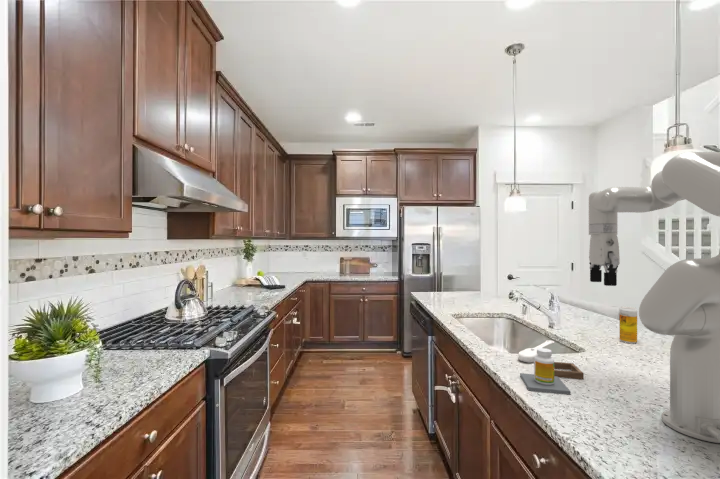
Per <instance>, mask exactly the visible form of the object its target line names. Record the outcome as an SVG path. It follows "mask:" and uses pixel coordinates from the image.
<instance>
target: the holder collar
mask: <svg viewBox="0 0 720 479" xmlns="http://www.w3.org/2000/svg"><path fill="white" fill-rule="evenodd" d="M584 374H585V373H584V372H583V371H582V370H581V369H580V368H578V367H577V366H576V364H574V363H572V362H563V361H561V362H560V361H559V362H558V361H554V376H558V377H559V378H561V379H570V380H571V379H573V380H584V378H585V375H584Z"/></svg>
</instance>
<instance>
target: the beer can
mask: <svg viewBox="0 0 720 479" xmlns="http://www.w3.org/2000/svg"><path fill="white" fill-rule="evenodd" d="M619 340H620V341H621V342H622V343H624V342H626V343H625V344H630V343H635V344H636V343H637V342H638V309H637V308H636V307H633V306H624V305H623V306H620V308H619Z"/></svg>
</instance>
